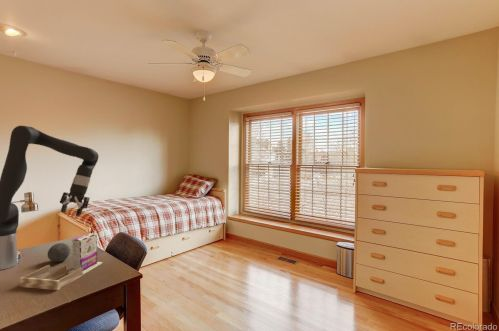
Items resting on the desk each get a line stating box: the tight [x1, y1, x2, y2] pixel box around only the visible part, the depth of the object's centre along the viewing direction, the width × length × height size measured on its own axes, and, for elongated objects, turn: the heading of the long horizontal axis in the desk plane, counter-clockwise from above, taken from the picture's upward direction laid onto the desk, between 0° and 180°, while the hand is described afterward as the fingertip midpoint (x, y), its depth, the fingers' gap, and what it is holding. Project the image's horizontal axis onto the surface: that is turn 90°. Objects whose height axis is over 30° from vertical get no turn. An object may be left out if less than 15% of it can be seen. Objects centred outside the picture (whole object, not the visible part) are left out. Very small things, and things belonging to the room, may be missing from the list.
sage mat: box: [66, 261, 104, 275], centre depth 135 cm, size 9×14×1 cm, turn 172°
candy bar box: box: [71, 232, 98, 271], centre depth 135 cm, size 11×5×16 cm, turn 170°
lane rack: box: [19, 264, 84, 291], centre depth 121 cm, size 19×14×4 cm
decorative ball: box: [47, 242, 71, 263], centre depth 143 cm, size 10×10×10 cm
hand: (70, 214), depth 137 cm, fingers open, 8 cm apart
